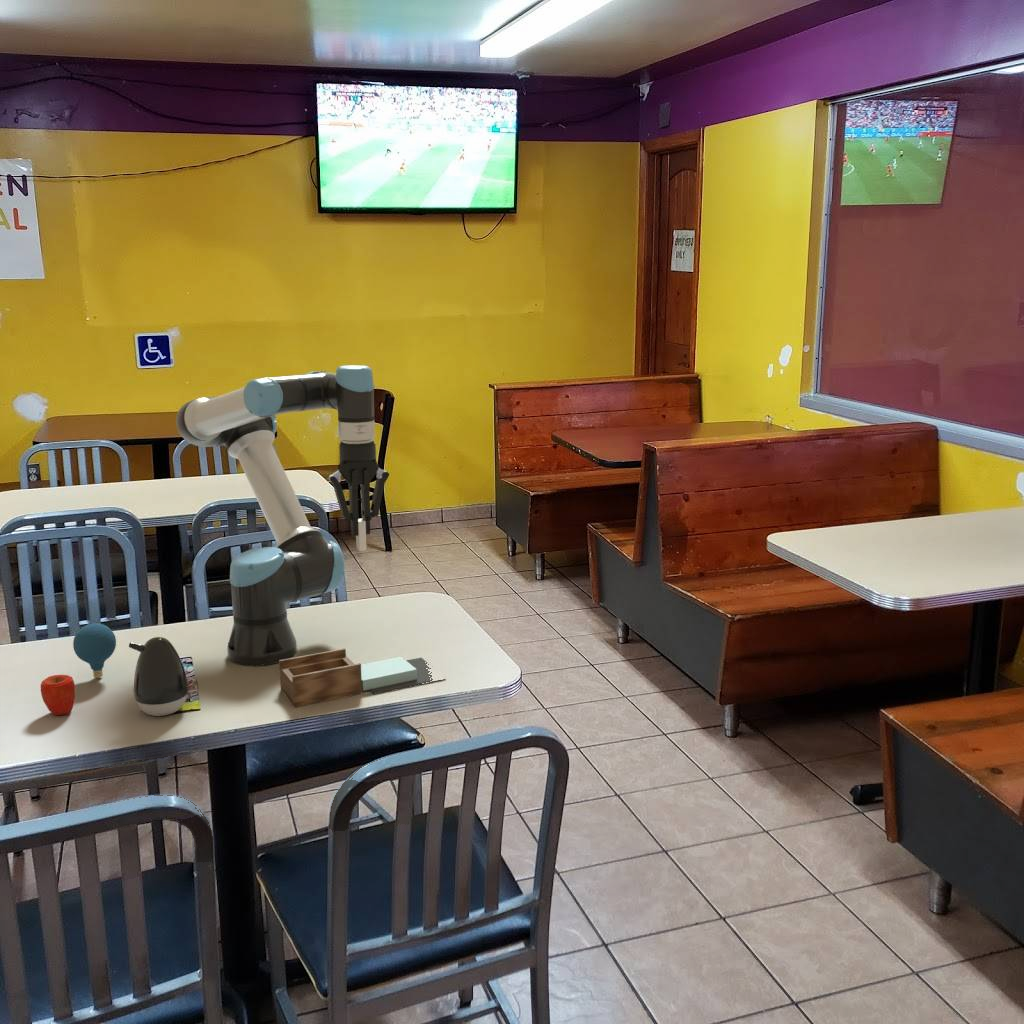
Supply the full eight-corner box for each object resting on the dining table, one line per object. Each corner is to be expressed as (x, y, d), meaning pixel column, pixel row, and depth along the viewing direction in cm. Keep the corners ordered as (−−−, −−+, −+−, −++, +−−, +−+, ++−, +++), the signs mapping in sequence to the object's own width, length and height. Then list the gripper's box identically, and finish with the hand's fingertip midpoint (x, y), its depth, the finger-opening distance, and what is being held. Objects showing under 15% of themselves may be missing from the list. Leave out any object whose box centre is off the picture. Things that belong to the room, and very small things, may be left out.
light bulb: (79, 688, 211) (73, 634, 208) (75, 674, 218) (69, 621, 216) (122, 681, 215) (116, 627, 212) (116, 667, 222) (111, 615, 219)
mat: (373, 694, 208) (373, 692, 208) (352, 672, 219) (352, 670, 219) (445, 679, 215) (445, 677, 215) (421, 659, 226) (421, 657, 226)
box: (294, 707, 202) (293, 677, 201) (280, 689, 211) (279, 660, 209) (362, 693, 208) (360, 664, 207) (345, 676, 217) (344, 648, 216)
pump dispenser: (142, 700, 205) (135, 629, 202) (195, 698, 206) (189, 627, 203) (128, 723, 195) (120, 648, 192) (183, 720, 196) (177, 646, 193)
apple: (36, 715, 199) (32, 679, 197) (64, 703, 204) (60, 668, 202) (56, 722, 196) (52, 685, 194) (84, 710, 201) (80, 675, 199)
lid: (363, 690, 209) (362, 680, 208) (348, 676, 216) (348, 667, 215) (417, 679, 215) (416, 669, 214) (401, 666, 222) (401, 656, 221)
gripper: (330, 445, 207) (335, 557, 213) (392, 441, 212) (396, 550, 218) (322, 440, 214) (327, 548, 220) (382, 435, 219) (385, 542, 225)
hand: (361, 549), depth 219 cm, fingers closed
